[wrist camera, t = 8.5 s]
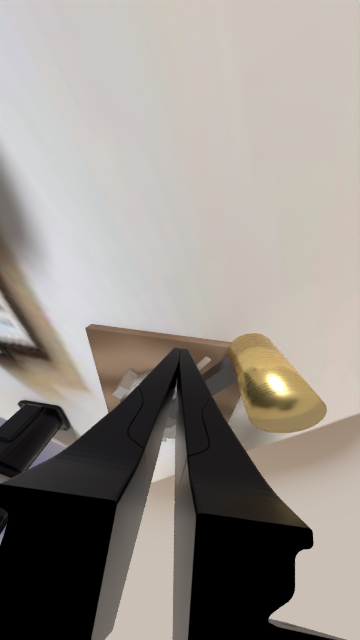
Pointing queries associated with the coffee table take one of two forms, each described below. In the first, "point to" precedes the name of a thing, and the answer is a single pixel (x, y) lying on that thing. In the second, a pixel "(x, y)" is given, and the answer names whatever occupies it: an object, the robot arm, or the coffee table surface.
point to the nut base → (152, 358)
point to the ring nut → (253, 387)
